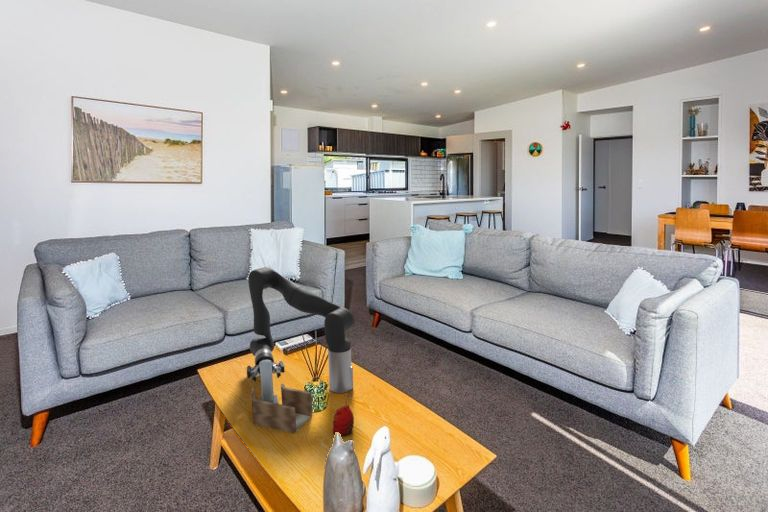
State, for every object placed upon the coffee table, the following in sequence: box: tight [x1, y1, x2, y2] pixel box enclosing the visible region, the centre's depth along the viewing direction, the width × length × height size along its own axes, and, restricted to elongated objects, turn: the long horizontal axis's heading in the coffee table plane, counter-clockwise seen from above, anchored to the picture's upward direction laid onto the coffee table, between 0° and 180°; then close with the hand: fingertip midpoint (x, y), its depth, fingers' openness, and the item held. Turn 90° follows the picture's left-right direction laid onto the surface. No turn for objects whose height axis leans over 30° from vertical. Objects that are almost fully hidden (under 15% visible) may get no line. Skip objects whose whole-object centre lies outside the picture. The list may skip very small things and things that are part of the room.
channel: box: [250, 383, 313, 435], centre depth 149 cm, size 20×20×9 cm
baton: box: [259, 360, 275, 403], centre depth 160 cm, size 4×4×16 cm
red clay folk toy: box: [332, 392, 355, 436], centre depth 141 cm, size 8×7×15 cm
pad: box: [258, 394, 279, 404], centre depth 162 cm, size 7×7×1 cm
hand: (266, 377), depth 159 cm, fingers open, 8 cm apart
